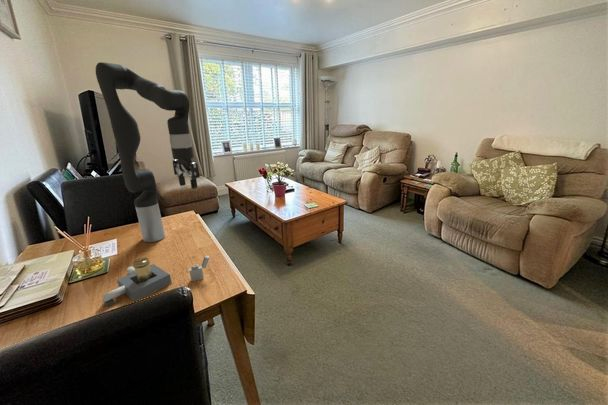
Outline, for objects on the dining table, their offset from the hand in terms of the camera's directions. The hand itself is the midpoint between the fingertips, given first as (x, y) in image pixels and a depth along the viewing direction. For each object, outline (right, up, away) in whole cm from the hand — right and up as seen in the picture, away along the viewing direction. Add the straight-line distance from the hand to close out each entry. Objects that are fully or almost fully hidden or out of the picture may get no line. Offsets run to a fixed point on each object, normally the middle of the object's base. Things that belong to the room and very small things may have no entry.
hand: (188, 186), depth 108 cm
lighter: (+10, -34, -11) cm, 37 cm away
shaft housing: (-12, -35, -16) cm, 41 cm away
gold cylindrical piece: (-8, -35, -15) cm, 39 cm away
